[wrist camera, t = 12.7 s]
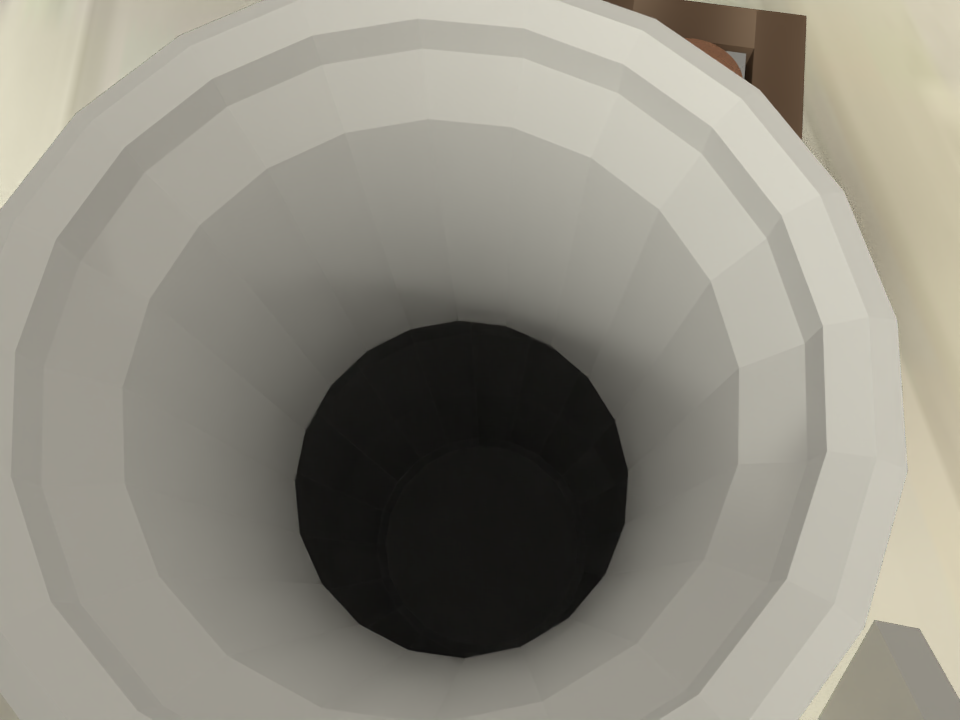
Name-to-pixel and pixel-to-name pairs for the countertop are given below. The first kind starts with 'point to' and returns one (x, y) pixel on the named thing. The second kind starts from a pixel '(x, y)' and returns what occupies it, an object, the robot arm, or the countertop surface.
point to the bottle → (437, 381)
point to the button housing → (744, 44)
